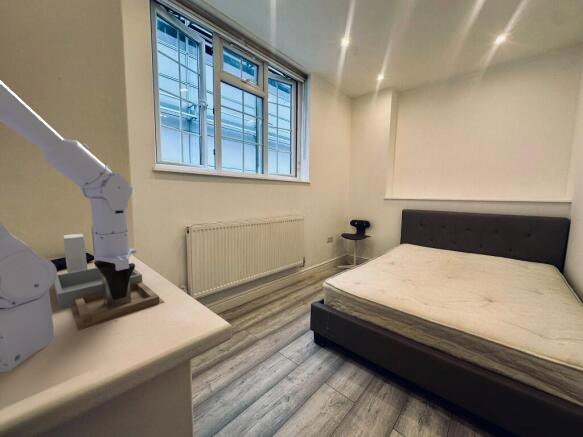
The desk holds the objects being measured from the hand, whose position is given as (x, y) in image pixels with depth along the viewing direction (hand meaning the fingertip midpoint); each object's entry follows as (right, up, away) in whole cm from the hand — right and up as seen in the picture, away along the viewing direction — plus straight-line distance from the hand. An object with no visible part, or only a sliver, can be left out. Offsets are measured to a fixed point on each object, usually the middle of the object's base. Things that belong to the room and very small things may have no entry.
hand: (116, 294), depth 50 cm
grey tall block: (0, -2, 0) cm, 2 cm away
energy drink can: (-22, 0, +26) cm, 34 cm away
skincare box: (-25, -1, +18) cm, 31 cm away
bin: (-11, -2, +8) cm, 14 cm away
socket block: (0, -3, 0) cm, 3 cm away
